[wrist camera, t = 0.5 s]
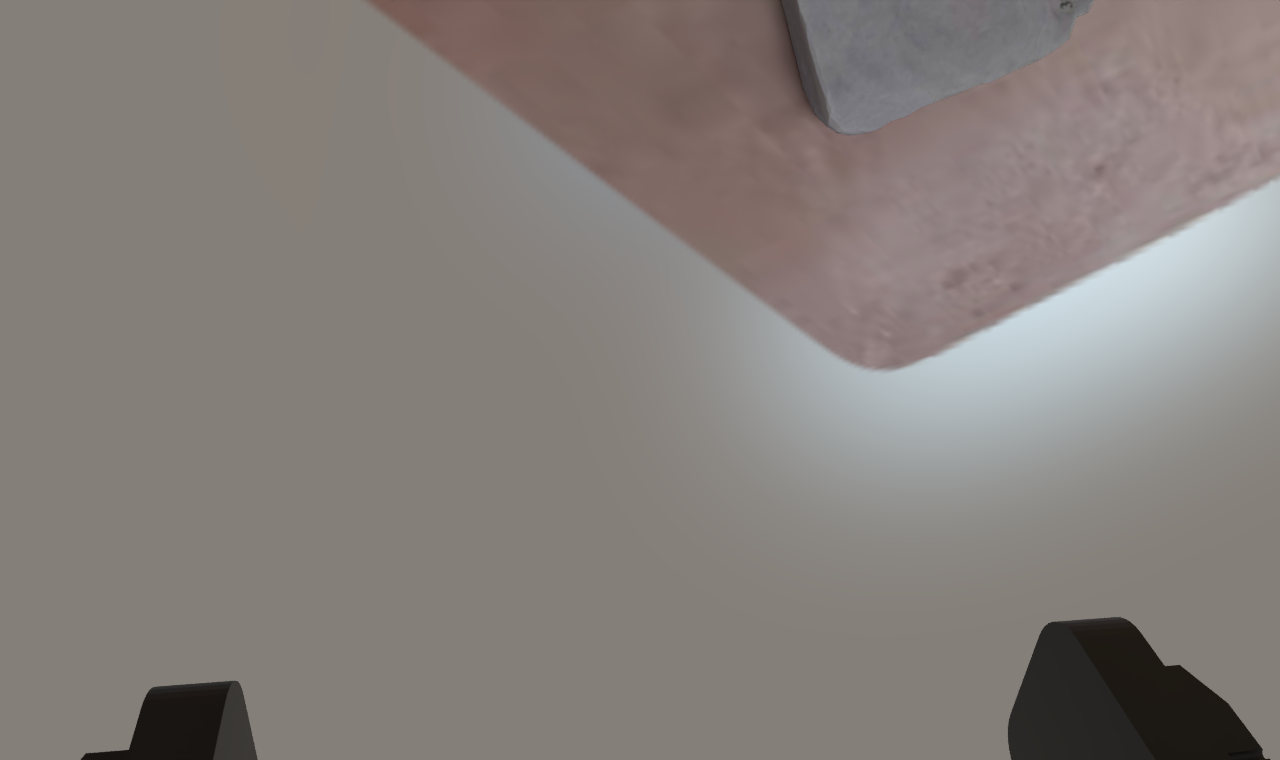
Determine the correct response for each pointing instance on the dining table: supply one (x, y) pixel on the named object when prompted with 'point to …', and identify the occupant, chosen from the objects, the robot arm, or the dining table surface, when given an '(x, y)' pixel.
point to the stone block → (914, 51)
